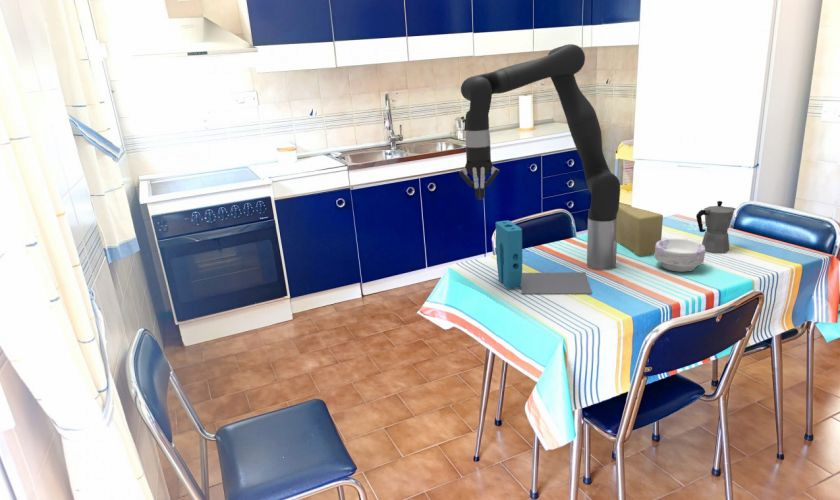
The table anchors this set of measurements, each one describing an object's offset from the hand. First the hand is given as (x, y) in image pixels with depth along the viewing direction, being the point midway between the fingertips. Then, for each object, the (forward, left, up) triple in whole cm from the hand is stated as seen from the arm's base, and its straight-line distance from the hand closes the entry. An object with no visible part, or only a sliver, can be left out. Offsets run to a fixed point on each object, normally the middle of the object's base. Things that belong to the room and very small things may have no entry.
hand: (480, 199), depth 178 cm
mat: (-23, 0, -29) cm, 37 cm away
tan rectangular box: (-54, -36, -29) cm, 71 cm away
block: (-9, 0, -29) cm, 30 cm away
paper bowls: (-65, -14, -29) cm, 73 cm away
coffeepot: (-81, -31, -29) cm, 92 cm away
